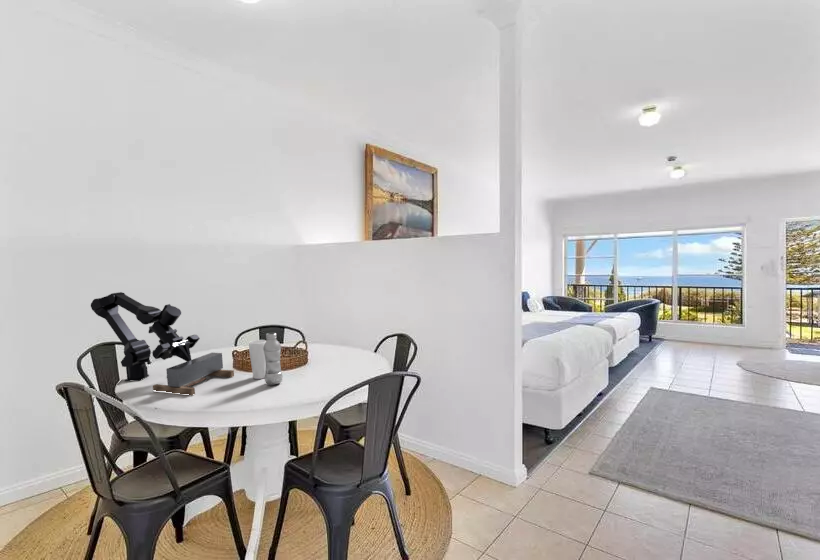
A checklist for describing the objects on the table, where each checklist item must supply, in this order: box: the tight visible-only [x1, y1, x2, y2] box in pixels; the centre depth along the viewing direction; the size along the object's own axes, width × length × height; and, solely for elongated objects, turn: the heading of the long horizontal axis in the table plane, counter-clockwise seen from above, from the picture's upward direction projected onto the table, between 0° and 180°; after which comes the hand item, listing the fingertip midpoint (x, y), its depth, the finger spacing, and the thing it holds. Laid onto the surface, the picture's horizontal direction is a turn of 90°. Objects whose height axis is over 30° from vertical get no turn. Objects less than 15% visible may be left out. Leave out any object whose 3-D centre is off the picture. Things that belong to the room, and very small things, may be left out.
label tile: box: [181, 377, 207, 387], centre depth 166 cm, size 8×11×1 cm
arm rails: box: [152, 368, 235, 396], centre depth 165 cm, size 18×22×2 cm
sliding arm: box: [165, 352, 224, 387], centre depth 164 cm, size 5×23×6 cm, turn 164°
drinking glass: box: [248, 339, 267, 380], centre depth 170 cm, size 7×7×15 cm
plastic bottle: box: [263, 332, 283, 386], centre depth 161 cm, size 6×7×20 cm
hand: (190, 361), depth 165 cm, fingers closed, pressing on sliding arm
